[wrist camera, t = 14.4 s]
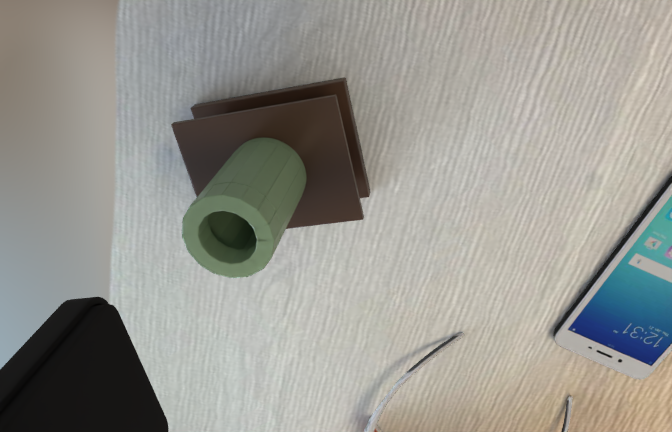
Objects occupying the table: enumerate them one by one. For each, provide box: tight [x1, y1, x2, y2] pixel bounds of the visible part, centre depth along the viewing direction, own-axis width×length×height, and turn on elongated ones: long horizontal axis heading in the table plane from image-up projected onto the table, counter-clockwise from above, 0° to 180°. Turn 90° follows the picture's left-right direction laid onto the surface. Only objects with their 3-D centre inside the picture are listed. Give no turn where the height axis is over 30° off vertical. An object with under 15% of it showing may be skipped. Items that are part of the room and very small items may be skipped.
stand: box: [171, 78, 370, 229], centre depth 40 cm, size 8×10×4 cm
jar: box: [182, 138, 306, 278], centre depth 35 cm, size 5×5×8 cm
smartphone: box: [553, 176, 672, 380], centre depth 41 cm, size 7×1×15 cm
